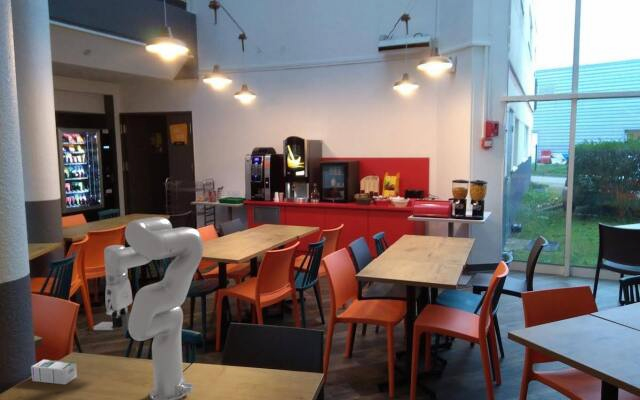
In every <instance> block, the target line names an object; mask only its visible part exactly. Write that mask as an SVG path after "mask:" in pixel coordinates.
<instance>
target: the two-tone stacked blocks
mask: <svg viewBox="0 0 640 400" xmlns="http://www.w3.org/2000/svg"><path fill="white" fill-rule="evenodd" d="M130 313H131V312H130ZM130 313H129V312H127V313H120V312H119V317H121V327H120V328H117V327H113V322H112V321H101V322H99V323H97V324H96V325H94V326H93V327H92V328H93V330H94V331H112V330H129V329H128V322H129V317H130Z"/></svg>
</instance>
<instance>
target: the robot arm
mask: <svg viewBox="0 0 640 400" xmlns="http://www.w3.org/2000/svg"><path fill="white" fill-rule="evenodd" d="M124 237H125V240H126V242H127V244H128V245H129V246H128V247H125V245H123V244H113V245H107V246H106V247H105V248H104V250H103V256H104V269H105V270H104V271H105V272H104V273H105V294H104V295H105V297H104V298H105V302H104V303H105V309H106V312H105V314H106V315H109V316H110V318H112V319H111V320H112V321H111V322H113V327H117V328H120V327H121V317H119V313H129V312H128V311H129V306H130V305H131V304H132V307H131V310H130V317H129V322H128V329H127V330H128V333H129V335H130V337H131V339H133V340H135V341H139V342H141V341H142V342H143V341H146V340H148V339H153V340H152V344H151V357H152V372H153V373H152V375H153V388H152V389H151V390H150V392H149V398H150V400H181V399H182V398H184V397H185V396H186V395H187V394H188V393H189V394H192V393H193V392H194V383H191V382H190V383H188V382H187V378H186V377H184V369H183V367H184V366H183V351H182V350H183V349H182V329H183V323H184V321H183V320H184V313H183V309H182V307H181V306H182V305H183V303H184V302H185V300H186V298H187V296H188V293H189V289H190V287H191V283H192V281H193V278H194V275H195V273H196V271H197V269H198V268H199V265H200V263H201V260H202V257H203V254H204V253H203V252H204V242H203V237H202V235H201V233H200V232H199V231H198V230H197V229H196V228H193V227H188V226H187V227H186V226H180V227H175V228H173V225H172V223H171V221H170V220H169V219H167V218H166V217H162V216H152V217H145V218H140V219H134V220H132V221H130V222H129V223H128V224H126V227H125V230H124ZM172 257H175V258H174V259H173V260H172V261H171V262H170V263H169V264H168V267H166V270H165V273H164V277H163V278H162V280H160V281H158V282H155V283H151V284H147V285H145V286H143V287H141V288H140V289H138V291H137V292H136V294H135V296H134V300H133V294H132V293H133V292H132V287H131V282H130V280H129V278H128V277H129V276H128V269H131V268H135V267H139V266H143V265H147V264H149V263H150V262H151V261H152V260H155V261H156V260H162V259H167V258H172Z"/></svg>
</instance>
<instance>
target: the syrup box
mask: <svg viewBox="0 0 640 400" xmlns="http://www.w3.org/2000/svg"><path fill="white" fill-rule="evenodd" d="M30 373H31V381H32V382H37V383H48V384H57V385H68V384H69V383H70V382H72V381H73V380H75V379H76V378H77V376H78V375H77V374H78V372H77V363H76V362H72V361H63V360H53V359H52V360H51V359H42V360H40V361H39V362H36V363H35V364H33V365H31V366H30Z"/></svg>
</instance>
